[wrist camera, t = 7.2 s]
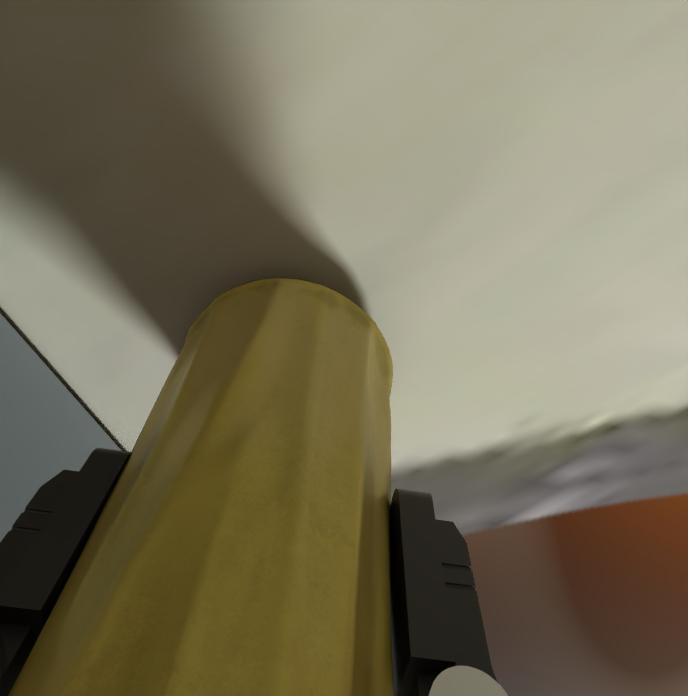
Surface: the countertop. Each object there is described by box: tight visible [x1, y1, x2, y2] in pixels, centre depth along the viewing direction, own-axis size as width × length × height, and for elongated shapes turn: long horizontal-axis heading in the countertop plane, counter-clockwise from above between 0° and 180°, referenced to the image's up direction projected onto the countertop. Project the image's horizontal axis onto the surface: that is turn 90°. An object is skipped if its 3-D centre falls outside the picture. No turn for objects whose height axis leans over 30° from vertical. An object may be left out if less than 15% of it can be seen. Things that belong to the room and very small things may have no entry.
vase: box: [8, 278, 394, 696], centre depth 10 cm, size 6×6×14 cm
